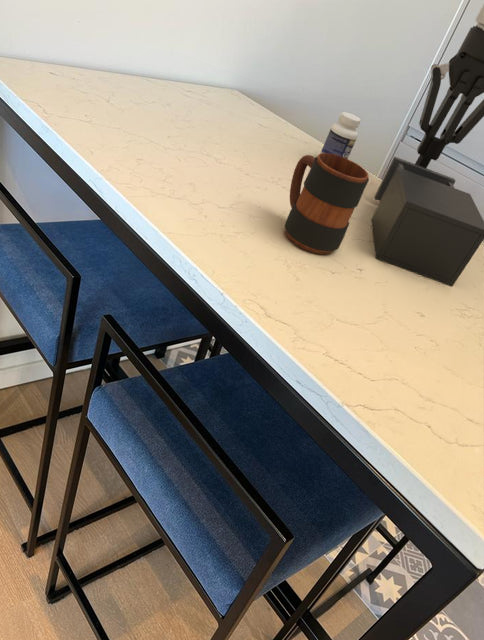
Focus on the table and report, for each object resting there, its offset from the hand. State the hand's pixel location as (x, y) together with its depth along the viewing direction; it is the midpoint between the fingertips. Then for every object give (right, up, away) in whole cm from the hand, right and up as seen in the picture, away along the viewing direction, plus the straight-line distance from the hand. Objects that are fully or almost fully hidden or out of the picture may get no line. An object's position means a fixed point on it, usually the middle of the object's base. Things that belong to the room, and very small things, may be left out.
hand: (416, 173), depth 103 cm
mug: (-23, -15, -18) cm, 33 cm away
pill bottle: (-14, +5, +11) cm, 18 cm away
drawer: (-3, -8, -2) cm, 9 cm away
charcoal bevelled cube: (-5, -16, -11) cm, 20 cm away
